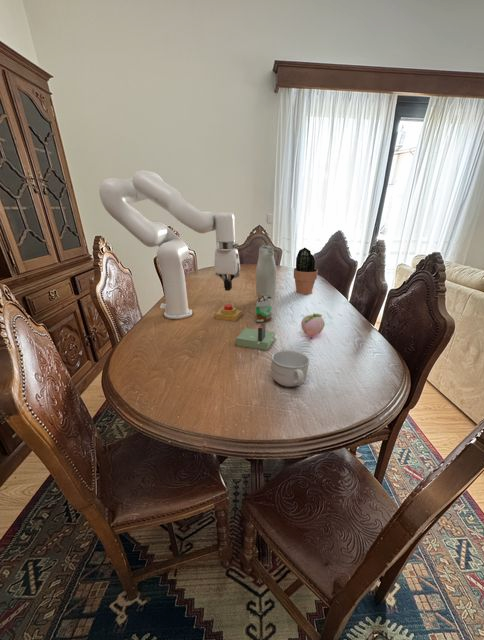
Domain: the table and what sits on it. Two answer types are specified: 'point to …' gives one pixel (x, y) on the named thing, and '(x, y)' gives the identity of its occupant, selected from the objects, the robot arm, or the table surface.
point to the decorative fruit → (312, 324)
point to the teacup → (289, 367)
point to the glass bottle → (266, 272)
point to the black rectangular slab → (261, 332)
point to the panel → (255, 339)
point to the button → (228, 307)
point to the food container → (263, 308)
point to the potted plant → (305, 272)
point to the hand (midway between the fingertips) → (228, 289)
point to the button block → (228, 314)
